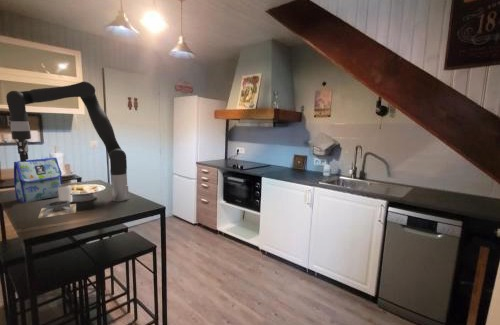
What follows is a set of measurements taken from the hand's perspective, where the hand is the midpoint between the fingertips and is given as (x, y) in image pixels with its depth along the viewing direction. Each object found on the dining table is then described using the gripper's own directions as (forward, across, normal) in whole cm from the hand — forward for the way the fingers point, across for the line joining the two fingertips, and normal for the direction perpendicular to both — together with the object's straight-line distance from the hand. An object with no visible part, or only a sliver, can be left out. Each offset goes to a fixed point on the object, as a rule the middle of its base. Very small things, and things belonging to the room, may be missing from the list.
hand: (24, 160), depth 137 cm
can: (+29, +7, -16) cm, 34 cm away
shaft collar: (+28, -9, -13) cm, 32 cm away
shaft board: (+29, -10, -13) cm, 33 cm away
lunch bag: (+29, +30, -2) cm, 42 cm away
